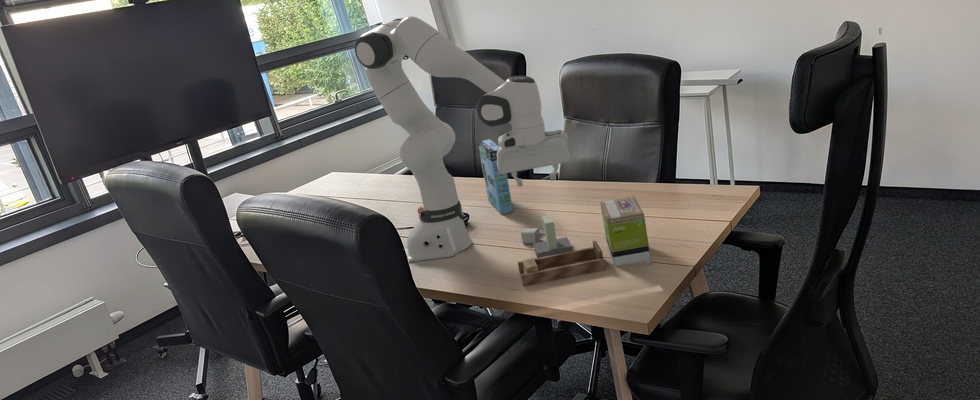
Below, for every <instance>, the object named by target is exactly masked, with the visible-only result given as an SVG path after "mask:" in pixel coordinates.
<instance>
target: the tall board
mask: <svg viewBox="0 0 980 400" xmlns="http://www.w3.org/2000/svg"><path fill="white" fill-rule="evenodd" d="M541 220H542V225H543V232H544V234H545V236H544V239H545V241H546V243H547V245H548V248H549V250H552V249H557V248H558V247H557V241H556V239H557V236H556V230H555V224H554V220H553V219H552V216H551V215H550V214H547V215H543V216H541Z"/></svg>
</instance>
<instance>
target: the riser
mask: <svg viewBox="0 0 980 400" xmlns="http://www.w3.org/2000/svg"><path fill="white" fill-rule="evenodd" d="M556 241H557V247H558V248H557V249H552V250H549V248H548V245H547V243H546V240H545V241H541V242H540V241H539V242H538V243H535V244H533V250H534V253H535V256H536V258H540V257H545V256H550V255H555V254H560V253H565V252H570V251H573V246H572V244H571V242H570V241H569V239H568V237H567V236H566V237H561V238H556Z"/></svg>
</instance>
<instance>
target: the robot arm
mask: <svg viewBox="0 0 980 400" xmlns="http://www.w3.org/2000/svg"><path fill="white" fill-rule="evenodd" d="M354 53H355V56H356V57H355V58H356V59H357V60H358V62H359V63H360V64H361V65H362V66H363V67H365V68H366V70H365V73H366V77H367V80H368V81H369V82H368V83H370V87H371V89H372V90H373V93H374V94H375V96H376V98H377V99H378V101H379V102H380V105H381V106H382V107H383V109H384V110H385V112H386V114H387V115H388V117H389V118H390V120H391V122H392V123H394V124H395V125H397V126H400V127H401V128H402V129H404V131H406V133H408V135H409V136H408V137H406V139H405V140H404V142H403V143H402V144H401V146H400V148H399V149H400V150H399V158H400V160H401V163H402V164H403V165H404V166H405V167H406V169H408V170H409V171H410V172H411V173H412V175H413V176H414V178H415V181H416V183H417V186H418V189H419V191H420V197H421V202H422V205H423V206H418V207H417V213H418V219H419V221H418V222H417V223H416V225H414V227H413V228H412V229H411V230H410V231H409V233H408V235H407V238H406V239H407V240H406V243H407V245H406V246H405V247H404V249H405V250H406V253H407V257H408V260H409V262H408V263H412V262H419V261H427V260H434V259H435V260H436V259H442V258H443V259H444V258H450V257H454V256H455V255H457V254H458V253H459V252H461V251H462V252H463V251H464V250H465V249H467V248H469V247H470V246H471V245H472V244H473V240H472V238H471V237H470V234H469V232H468V229H467V228H466V224H465V222H464V211H463V207H462V204H461V201H460V200H459V197H458V191H457V187H456V183H455V178H454V177H453V175H452V174H450V173H449V172H448V170H447V168H446V166H445V163H444V160H443V158H444V157H445V156H446V155H448V154H449V153H450V152H451V150H452V149H453V147H454V145H455V142H456V133H455V131H454V129H453V128H452V127H451V126H450V124H449V123H447V122H444V121H442V120H441V119H440V118H439V117H437V116H436V115H435V113H434V112H432V111H431V109H430V108H429V106H427V105H426V104H425V102H424V100H423V99H422V98H421V96H420V94H419V93H418V91H417V90H416V89H415V87H414V85H413V84H412V82H411V81H410V79H409V77H408V76H407V75H406V73H405V71H404V69H403V66H402V64H403V60H404V61H405V60H409V59H410V60H411V61H412V62H413V63H414V64H416V65H417V66H418V67H419V69H421V70H423V72H426V73H428V75H430V76H432V77H435V78H460V79H465V80H467V81H469V82H471V83H472V84H474V85H475V86H477V87H478V88H479V89H481V90H482V91H484V92H485V94H484V95H482V96H480V98H479V99H478V100H477V103H476V113H477V116H478V119H479V120H480V121H481V122H482V123H483V125H485V126H487V127H489V128H490V127H491V128H495V127H500V126H502V125H505V124H510V125H511V130H510V131H508V132H506V133H504V134H502V135H500V136H499V137H498V139H497V143H498V144H497V145H498V146H499V147H498V149H497V167H498V171H499V172H500V173H501V174H505V173H507V174H510V173H511V176H512V178H513V179H514V180H515V182H516V186H517V187H522V186H524V184H523V180H522V178H519V177H518V173H517V172H522V171H528V170H533V169H538V168H544V167H549V166H552V167H553V169H552V172H550V173H549V179H550V181H556V180H557V177H556V175H557V172H558V170H559V165H561V164H565V163H566V164H567V163H569V161H570V160H571V155H570V151H569V147H568V143H569V136H568V133H567V132H566V131H565V130H562V129H556V130H550V131H546V127H545V122H544V121H545V120H544V119H543V116H542V108H543V107H542V100H541V96H540V91H539V87H538V84H537V82H536V80H535V79H534V78H532V77H531V76H527V75H514V76H511V77H508V78H507V79H506V78H505V77H503V76H501V75H500V74H499V73H498V72H496V71H495V70H493V69H492V68H490V66H488V65H486V64H485V63H483V62H482V61H481V60H480V59H478V58H476V57H474V56H473V55H472V54H470V53H469V52H466V51H465V50H464V49H462V48H460V47H459V46H457V45H456V44H455V43H454V42H452V41H451V40H449V39H448V38H447V37H446V36H444V35H443V34H442V33H441V32H440V31H439V30H437V29H436V28H434V27H433V26H432V25H430V24H428V22H426V21H425V20H422V19H421V18H419V17H416V16H407V17H405V18H404V17H403V18H402V17H401V18H395V19H393V20H391V21H387V22H384V23H382V24H379V25H378V26H376V27H375V28H372V29H371V30H370V31H366V32H365V33H363V34H361V35H360V36H359V37H358V38H357V39H356V41H355V44H354Z"/></svg>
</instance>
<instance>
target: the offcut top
mask: <svg viewBox="0 0 980 400" xmlns="http://www.w3.org/2000/svg"><path fill="white" fill-rule="evenodd" d="M534 259H535V258H534V257H531V258H527V259H523V260H521V261H523V267H524V269H525V271H526V273H530V272H535V271H538V266H537V264H536V262H535V261H534Z"/></svg>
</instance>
